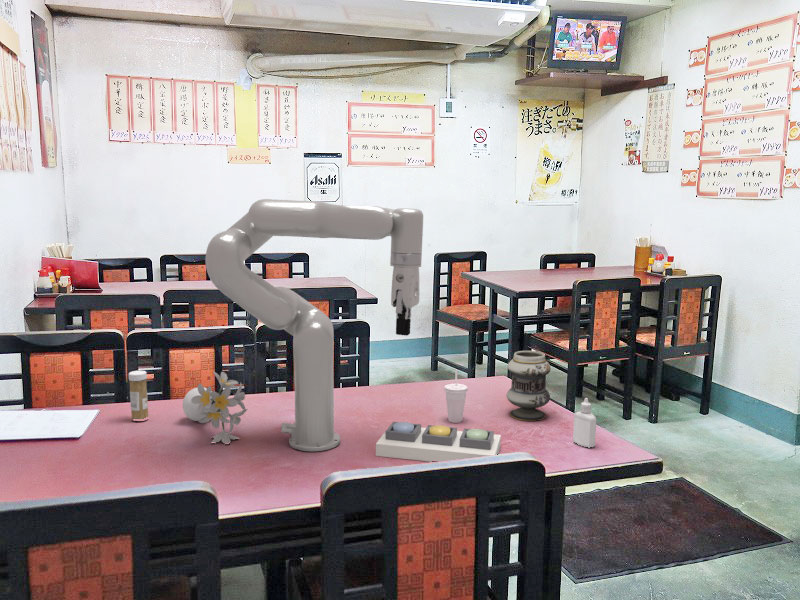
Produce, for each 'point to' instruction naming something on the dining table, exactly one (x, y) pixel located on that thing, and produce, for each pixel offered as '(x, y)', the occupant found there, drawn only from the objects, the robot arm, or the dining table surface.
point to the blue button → (403, 427)
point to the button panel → (435, 445)
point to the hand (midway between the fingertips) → (402, 334)
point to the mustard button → (439, 430)
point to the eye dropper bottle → (584, 426)
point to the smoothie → (455, 400)
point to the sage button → (477, 434)
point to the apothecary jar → (528, 385)
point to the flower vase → (215, 406)
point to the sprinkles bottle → (138, 394)
